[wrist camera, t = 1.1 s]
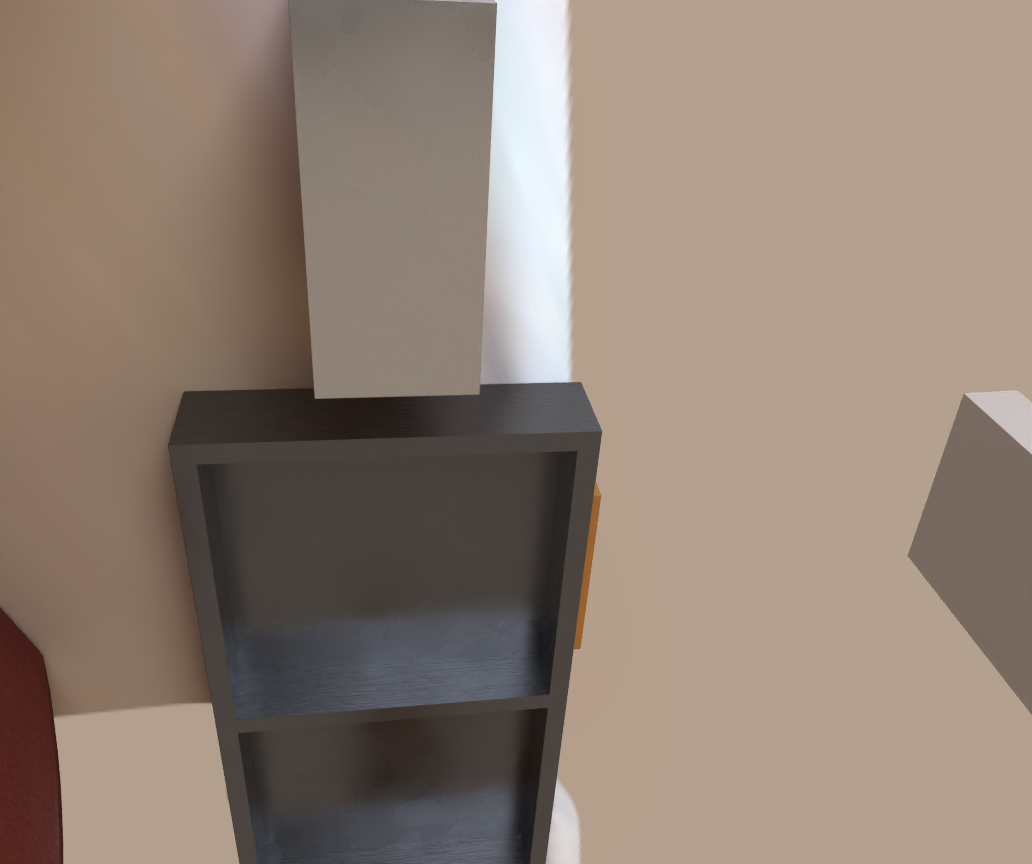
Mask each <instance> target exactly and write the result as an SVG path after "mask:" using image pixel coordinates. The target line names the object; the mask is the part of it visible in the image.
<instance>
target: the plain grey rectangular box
mask: <svg viewBox="0 0 1032 864" xmlns="http://www.w3.org/2000/svg"><path fill="white" fill-rule="evenodd" d="M288 3H289V18H290V33H291V48H292V63H293V78H294V93H295V108H296V123H297V138H298V153H299V168H300V183H301V198H302V214H303V229H304V244H305V259H306V274H307V289H308V304H309V319H310V334H311V349H312V364H313V379H314V394H315V399H324V398H362V397H401V396H440V395H478V394H479V392H480V370H481V348H482V325H483V303H484V281H485V259H486V236H487V214H488V192H489V170H490V147H491V125H492V103H493V81H494V58H495V36H496V14H497V3H496V2H495V1H494V0H288Z"/></svg>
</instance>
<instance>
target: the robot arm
mask: <svg viewBox="0 0 1032 864" xmlns="http://www.w3.org/2000/svg"><path fill="white" fill-rule="evenodd" d="M908 557H909V558H910V559H911V560H912V562H913V563H914V565H915V566H916V567H917V568H918V570H919V571H920V572H921V573H922V575H923V576H924V577H925V579H926V580H927V581H928V582H929V584H930V585H931V586H932V588H933V589H934V590H935V591H936V593H937V594H938V595H939V597H940V598H941V599H942V600H943V602H944V603H945V604H946V605H947V607H948V608H949V609H950V611H951V612H952V613H953V614H954V616H955V617H956V618H957V619H958V621H959V622H960V623H961V625H962V626H963V627H964V628H965V630H966V631H967V632H968V634H969V635H970V636H971V637H972V639H973V640H974V641H975V643H976V644H977V645H978V646H979V648H980V649H981V650H982V652H983V653H984V654H985V655H986V657H987V658H988V659H989V660H990V662H991V663H992V664H993V666H994V667H995V668H996V669H997V671H998V672H999V673H1000V675H1001V676H1002V677H1003V678H1004V680H1005V681H1006V682H1007V684H1008V685H1009V686H1010V687H1011V689H1012V690H1013V691H1014V692H1015V694H1016V695H1017V696H1018V698H1019V699H1020V700H1021V701H1022V703H1023V704H1024V705H1025V707H1026V708H1027V709H1028V710H1029V712H1030V713H1031V714H1032V402H1030V401H1029V400H1028V399H1027V398H1026V397H1024V396H1023V395H1022V394H1021V393H1019V392H1018V391H999V392H980V393H964V395H963V398H962V400H961V403H960V406H959V409H958V412H957V415H956V418H955V421H954V423H953V427H952V430H951V432H950V435H949V438H948V441H947V444H946V447H945V450H944V452H943V455H942V458H941V461H940V464H939V467H938V470H937V473H936V476H935V478H934V481H933V485H932V487H931V490H930V493H929V496H928V499H927V502H926V504H925V507H924V510H923V514H922V516H921V519H920V522H919V525H918V528H917V531H916V533H915V536H914V539H913V542H912V545H911V548H910V551H909V554H908Z"/></svg>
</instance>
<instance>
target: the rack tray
mask: <svg viewBox="0 0 1032 864" xmlns="http://www.w3.org/2000/svg"><path fill="white" fill-rule="evenodd" d="M601 435H602V430H601V428H600V425H599V423H598V421H597V418H596V416H595V414H594V412H593V409H592V407H591V404H590V402H589V400H588V397H587V395H586V393H585V391H584V388H583V386H582V383H581V382H572V383H530V384H487V385H480V392H479V394H478V395H440V396H401V397H362V398H324V399H315V394H314V389H276V390H233V391H191V392H184V393H183V396H182V399H181V403H180V406H179V410H178V413H177V416H176V420H175V423H174V427H173V430H172V433H171V437H170V440H169V443H168V449H169V454H170V460H171V466H172V472H173V478H174V484H175V490H176V495H177V501H178V507H179V513H180V519H181V525H182V530H183V536H184V542H185V548H186V554H187V560H188V565H189V571H190V577H191V583H192V589H193V595H194V600H195V606H196V612H197V618H198V624H199V630H200V635H201V641H202V647H203V653H204V659H205V665H206V670H207V676H208V682H209V688H210V694H211V700H212V705H213V711H214V717H215V723H216V729H217V735H218V740H219V746H220V752H221V758H222V764H223V770H224V776H225V781H226V787H227V793H228V799H229V805H230V811H231V816H232V822H233V828H234V834H235V840H236V845H237V851H238V857H239V863H240V864H545V863H546V855H547V847H548V840H549V832H550V825H551V817H552V809H553V802H554V794H555V786H556V779H557V771H558V763H559V755H560V748H561V741H562V733H563V725H564V717H565V710H566V702H567V695H568V687H569V679H570V672H571V664H572V656H573V649H580V647H581V639H582V632H583V625H584V617H585V610H586V602H587V595H588V588H589V580H590V573H591V566H592V559H593V551H594V544H595V536H596V529H597V522H598V515H599V507H600V499H601V494H600V492H599V489H598V486H597V484H596V473H597V466H598V458H599V450H600V442H601Z"/></svg>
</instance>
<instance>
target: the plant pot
mask: <svg viewBox="0 0 1032 864" xmlns="http://www.w3.org/2000/svg"><path fill="white" fill-rule="evenodd" d="M61 805H62V804H61V784H60V772H59V760H58V750H57V742H56V734H55V726H54V717H53V709H52V702H51V695H50V688H49V683H48V678H47V673H46V668H45V663H44V658H43V656H42V654H41V653H40V652H39V650H38V649H37V648H36V647H35V646H34V645H33V643H32V642H31V641H30V640H29V639H28V638H27V637H26V636H25V635H24V634H23V633H22V631H21V630H20V629H19V628H18V627H17V626H16V625H15V624H14V622H13V621H12V620H11V619H10V618H9V617H8V616H7V615H6V614H5V612H4V611H3V610H2V609H1V608H0V864H63V827H62V806H61Z"/></svg>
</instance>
